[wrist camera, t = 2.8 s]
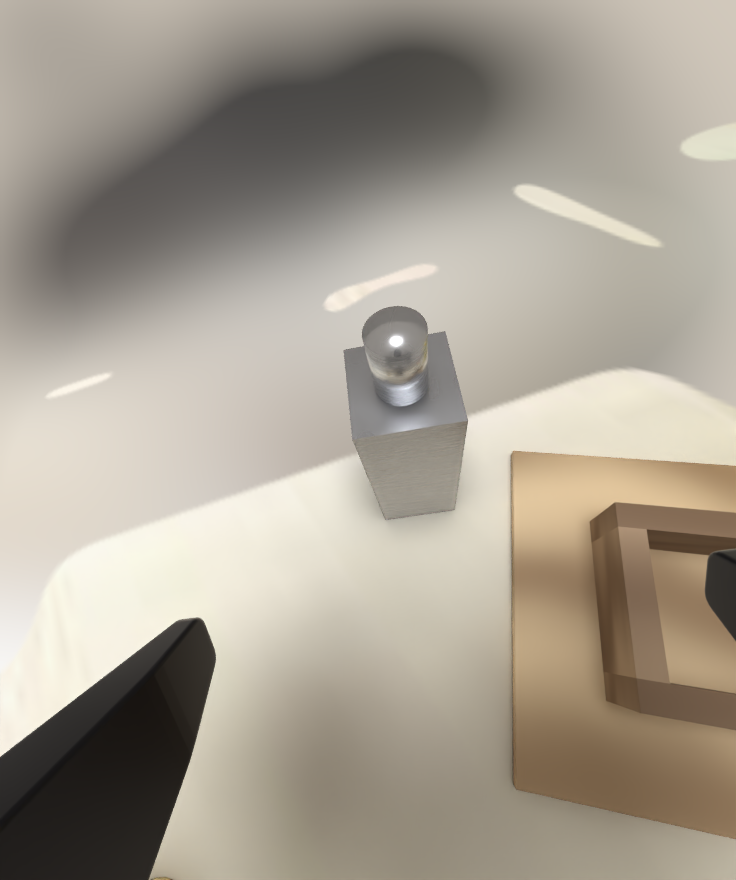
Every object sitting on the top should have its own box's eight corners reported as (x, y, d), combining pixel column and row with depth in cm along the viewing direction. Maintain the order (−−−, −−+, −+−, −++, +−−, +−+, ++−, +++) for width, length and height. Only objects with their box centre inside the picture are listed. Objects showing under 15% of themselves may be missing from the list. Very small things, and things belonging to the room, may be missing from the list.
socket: (974, 887, 13) (1155, 971, 10) (513, 784, 15) (533, 822, 12) (825, 477, 19) (905, 444, 15) (511, 455, 21) (524, 423, 18)
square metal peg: (454, 509, 21) (475, 371, 10) (385, 519, 21) (334, 396, 10) (441, 447, 22) (447, 272, 12) (377, 457, 23) (326, 296, 12)
